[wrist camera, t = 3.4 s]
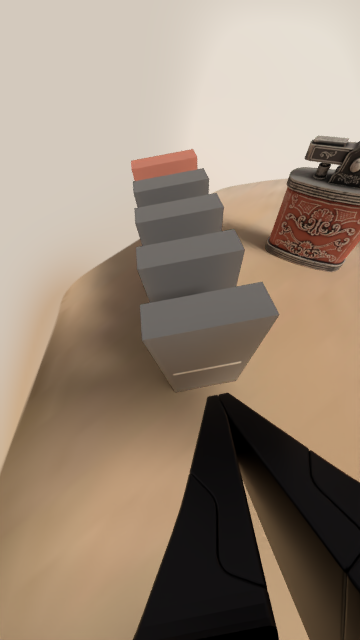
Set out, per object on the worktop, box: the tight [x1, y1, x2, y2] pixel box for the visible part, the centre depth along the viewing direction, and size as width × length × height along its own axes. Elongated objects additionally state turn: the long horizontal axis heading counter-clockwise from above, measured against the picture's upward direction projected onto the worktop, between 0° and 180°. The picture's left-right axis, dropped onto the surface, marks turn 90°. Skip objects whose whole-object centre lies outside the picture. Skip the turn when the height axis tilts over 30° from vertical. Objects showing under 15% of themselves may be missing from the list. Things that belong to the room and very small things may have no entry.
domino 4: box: [136, 229, 245, 303], centre depth 13 cm, size 2×5×10 cm, turn 99°
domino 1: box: [131, 149, 197, 181], centre depth 19 cm, size 2×5×10 cm, turn 99°
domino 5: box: [140, 282, 279, 392], centre depth 11 cm, size 2×5×10 cm, turn 99°
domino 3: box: [135, 193, 224, 246], centre depth 15 cm, size 2×5×10 cm, turn 99°
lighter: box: [265, 136, 360, 272], centre depth 17 cm, size 8×3×10 cm, turn 55°
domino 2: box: [133, 168, 209, 208], centre depth 17 cm, size 2×5×10 cm, turn 99°
